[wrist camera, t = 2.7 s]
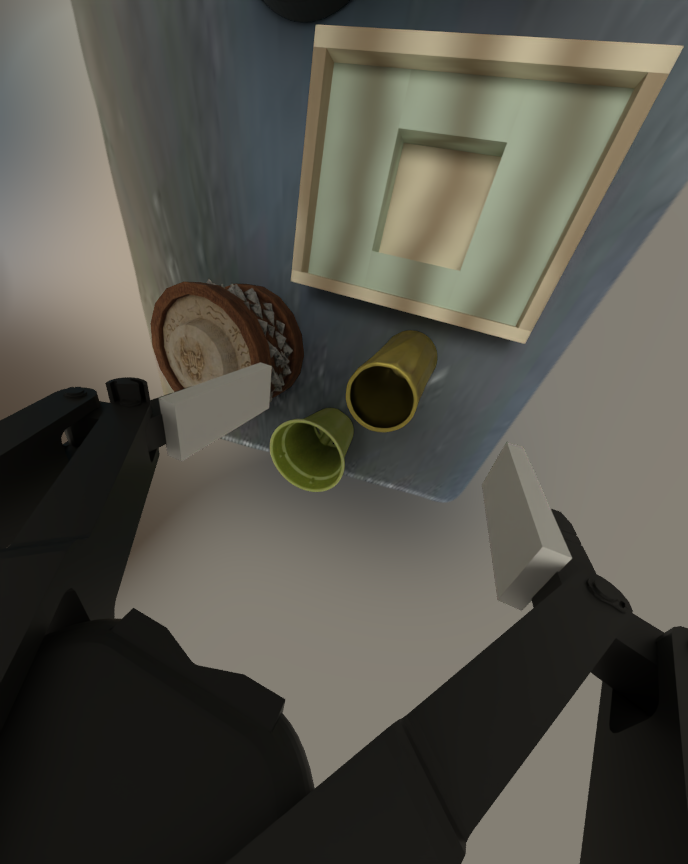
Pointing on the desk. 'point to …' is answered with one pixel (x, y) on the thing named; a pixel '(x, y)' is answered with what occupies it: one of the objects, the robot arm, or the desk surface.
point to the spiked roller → (224, 334)
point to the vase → (392, 382)
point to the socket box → (461, 165)
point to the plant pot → (312, 449)
